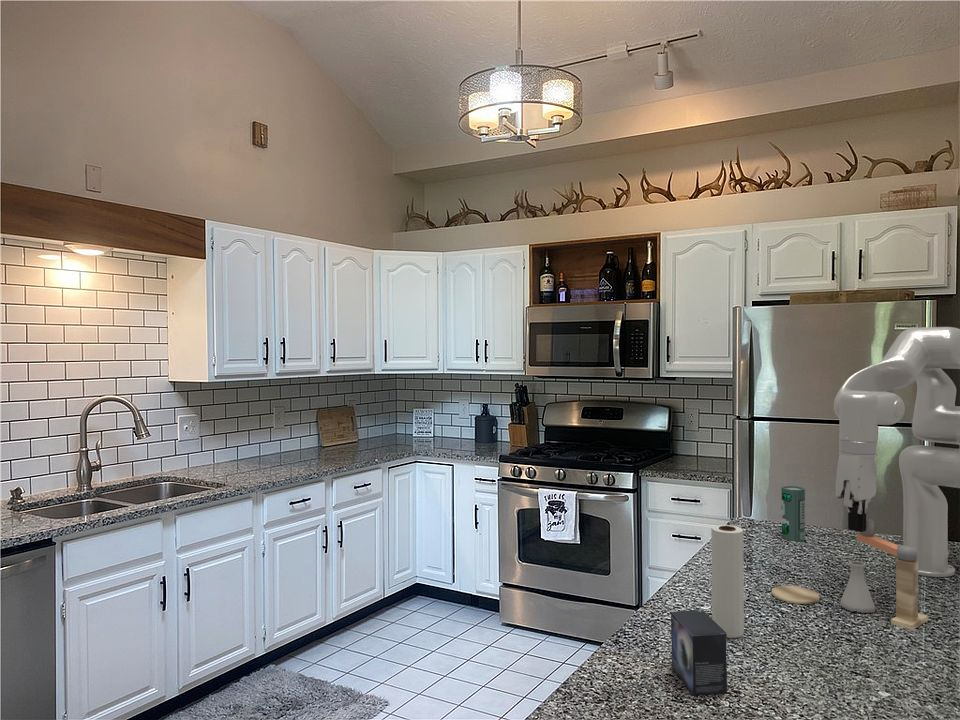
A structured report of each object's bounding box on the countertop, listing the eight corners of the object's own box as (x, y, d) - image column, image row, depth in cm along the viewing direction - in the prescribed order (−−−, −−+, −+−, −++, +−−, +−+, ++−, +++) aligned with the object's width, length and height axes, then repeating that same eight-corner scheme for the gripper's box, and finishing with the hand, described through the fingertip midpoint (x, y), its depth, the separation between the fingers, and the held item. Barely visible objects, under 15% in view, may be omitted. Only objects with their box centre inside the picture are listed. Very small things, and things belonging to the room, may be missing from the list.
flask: (881, 615, 149) (881, 568, 149) (844, 613, 151) (844, 567, 151) (869, 602, 157) (869, 558, 156) (834, 600, 158) (834, 557, 158)
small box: (668, 667, 127) (668, 610, 127) (703, 665, 128) (703, 608, 127) (691, 696, 117) (690, 634, 116) (729, 694, 117) (728, 632, 117)
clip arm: (869, 539, 160) (869, 517, 159) (921, 560, 144) (921, 536, 144) (854, 540, 159) (854, 518, 159) (905, 561, 143) (905, 537, 143)
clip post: (907, 614, 149) (907, 554, 149) (928, 620, 146) (928, 558, 146) (890, 624, 145) (890, 561, 144) (912, 630, 141) (912, 566, 141)
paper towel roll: (728, 641, 137) (728, 533, 137) (705, 630, 143) (704, 526, 142) (754, 634, 141) (754, 528, 140) (731, 623, 146) (730, 521, 146)
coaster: (786, 585, 168) (786, 582, 168) (827, 597, 160) (827, 594, 160) (763, 595, 162) (763, 592, 162) (805, 608, 154) (805, 604, 154)
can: (784, 534, 212) (784, 485, 212) (806, 537, 209) (806, 487, 208) (780, 539, 207) (779, 488, 207) (802, 542, 204) (802, 491, 203)
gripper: (856, 444, 164) (855, 522, 164) (824, 449, 154) (823, 532, 155) (890, 447, 158) (889, 529, 158) (859, 453, 149) (858, 539, 149)
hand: (857, 530), depth 156 cm, fingers closed
